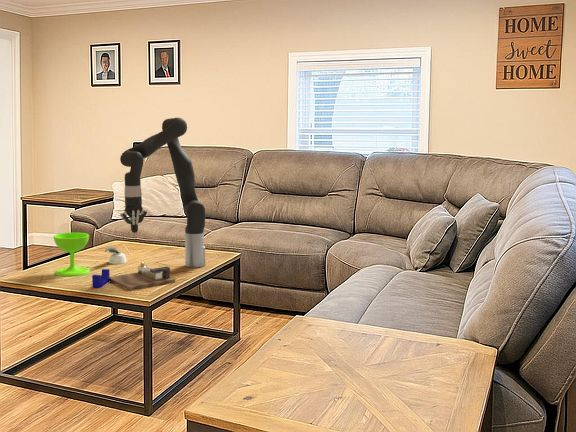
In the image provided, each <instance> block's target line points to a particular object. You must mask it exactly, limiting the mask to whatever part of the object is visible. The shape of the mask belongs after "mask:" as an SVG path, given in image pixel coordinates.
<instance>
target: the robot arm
mask: <svg viewBox="0 0 576 432" xmlns="http://www.w3.org/2000/svg"><path fill="white" fill-rule="evenodd" d="M187 131H188V124H187V122H186V120H185V119H184V118H182V117H171V118H165V119H164V120H163V121H162V124H161V131H160V132H158V133H156V134H153V135H151V136H149V137H148V138H146V139H144V140H143V141H142V142H140V143H139V144H138V145H135V146H132V147H131V148H128V149H127V150H125V151H123V152H122V153H121V155H120V159H119V160H120V163H121V164H122V166H124V167H127V168H128V167H129V168H130V169H129V171H128V172H126V173H124V206H125V208H124V211H123V212H122V213H120V215H119V216H120V217H121V218H122V219H123V221H124V222H125V223H126V224H129V225H130V231H131V232H132V233H133V234H135V233H138V231H139V224H140V223H142V222H143V221H144V219H145V218H146V215H148V211H146V210H144V209H143V197H142V193H143V192H142V184H141V175H142V170H143V167H144V159H147V158H149V157H150V156H151V155H152V154H154V153H156V151H158V150H159V149H161V148H162V147H163V146H166V145H167V147H168V148H167V149H168V151H169V155H170V158H171V162H172V167H173V171H174V175H175V179H176V181H177V185H178V187H179V192H180V195H181V201H182V209H183V213H184V214H185V216H186V225H185V227H184V228H185V229H184V230H185V231H184V239H185V241H184V246H185V248H184V250H185V252H184V253H185V254H184V255H185V256H184V257H185V258H184V259H185V260H184V261H185V262H184V264H185V265H184V266H185V267H187V268H192V269H193V268H202V267H204V266H206V247H205V245H204V244H205V241H204V239H205V238H204V229H205V226H206V208H205V206H204V205H203V203H201V202H199V199H198V196H197V192H196V189H195V185H196V184H195V182H196V180H195V171H194V167H193V163H192V160H191V158H190V156H189V155H188V154H187V153H186V151H185V149H183V147H182V145H181V143H180V140H179V138H180V137H182V136H184V135H186V133H187Z"/></svg>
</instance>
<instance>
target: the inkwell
mask: <svg viewBox="0 0 576 432" xmlns="http://www.w3.org/2000/svg"><path fill="white" fill-rule="evenodd" d="M104 252H105V253H106V252H109V253H111V254H110V255H109V259H108V264H112V265H122V264H126V263H127V262H128V260H127V257H126V254H125V253H123V252H122V251H118V250H117V249H116V248H115V247H113V246H111V245H110V246H109V245H108V247H106V248H105V251H104Z"/></svg>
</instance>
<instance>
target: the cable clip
mask: <svg viewBox="0 0 576 432" xmlns="http://www.w3.org/2000/svg"><path fill="white" fill-rule="evenodd" d="M110 273H111V270H110V268H103V269H101V274H92V276H91V278H92V279H91V281H92V289H94V290H95V289H100V288H101V289H102V287H104V286H105V285H107V284H108V283H110V277H111V276H110Z"/></svg>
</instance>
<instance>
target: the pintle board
mask: <svg viewBox="0 0 576 432" xmlns="http://www.w3.org/2000/svg"><path fill="white" fill-rule="evenodd" d="M150 272H152V273H157V272H161V274H162V279H160V280H154V279H152V278H150V277H147V276H145V275H143V274H139V273H138V271H137V272H132V273H127V274H120V275H114V276H113V275H112V276H110V282H111V283H112V284H115V285H117V286H119V287H120V288H123V289H125V290H127V291H135V290H141V289H146V288H151V287H157V286H162V285H163V286H164V285H167V284H175V283H176V278H174V277H171V267H169V266H161V267H156V268H155V267H154V268H151V269H150ZM110 282H109V283H110Z"/></svg>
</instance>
